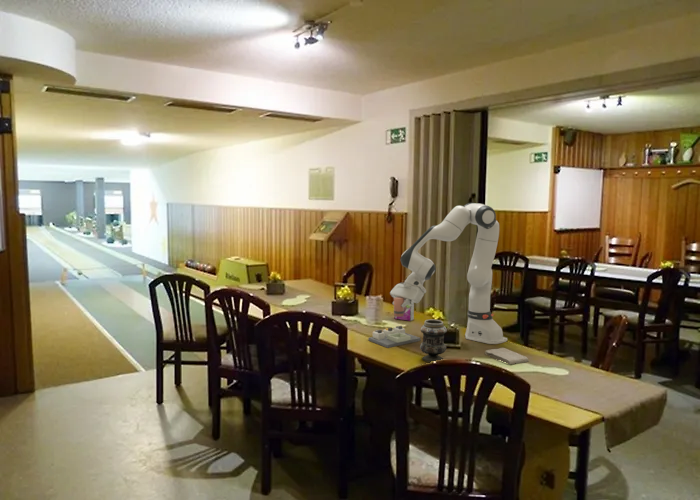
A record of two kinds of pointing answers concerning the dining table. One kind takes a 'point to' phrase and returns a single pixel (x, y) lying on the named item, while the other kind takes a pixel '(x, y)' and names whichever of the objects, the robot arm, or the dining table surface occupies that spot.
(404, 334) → the board
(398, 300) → the lockout cap
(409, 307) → the candy bar box
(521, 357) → the washcloth
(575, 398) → the dining table surface
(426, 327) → the apothecary jar
